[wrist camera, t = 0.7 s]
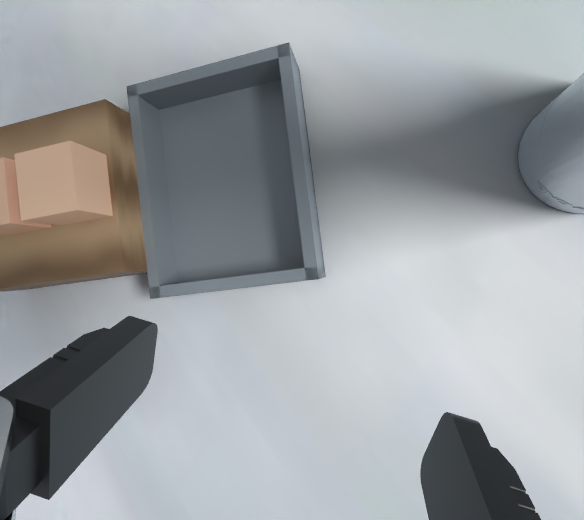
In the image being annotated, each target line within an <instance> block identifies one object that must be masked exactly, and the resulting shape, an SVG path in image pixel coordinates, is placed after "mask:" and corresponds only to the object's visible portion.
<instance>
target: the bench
mask: <svg viewBox="0 0 584 520" xmlns="http://www.w3.org/2000/svg"><path fill="white" fill-rule="evenodd" d="M66 141H73V142H75V143H78V144H80V145H83V146H85V147H88V148H90V149H93V150H95V151H98V152H100V153H103V154H105V155H106V157H107V167H108V176H109V185H110V194H111V204H112V213H113V216H111V217H105V218H100V219H94V220H88V221H83V222H77V223H72V224H66V225H54V224H51V228H46V229H40V230H35V231H29V232H24V233H18V234H13V235H7V236H0V291H11V290H23V289H32V288H39V287H47V286H54V285H61V284H69V283H76V282H84V281H91V280H98V279H106V278H113V277H121V276H128V275H135V274H143V273H147V263H146V254H145V245H144V236H143V227H142V218H141V209H140V200H139V191H138V182H137V173H136V164H135V155H134V146H133V137H132V128H131V119H130V114H129V113H127V112H126V111H124V110H122V109H121V108H119V107H117V106H116V105H114V104H112V103H111V102H109V101H107V100H106V99H105V100H101V101H97V102H93V103H89V104H86V105H82V106H78V107H74V108H71V109H67V110H63V111H59V112H56V113H52V114H48V115H44V116H41V117H37V118H33V119H29V120H26V121H22V122H18V123H14V124H11V125H7V126H3V127H0V158H2V157H5V158H8V159H12V160H15V156H14V154H17V153H21V152H25V151H29V150H33V149H37V148H41V147H46V146H50V145H54V144H58V143H62V142H66Z"/></svg>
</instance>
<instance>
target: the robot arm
mask: <svg viewBox="0 0 584 520" xmlns="http://www.w3.org/2000/svg"><path fill="white" fill-rule="evenodd" d="M518 161H519V169H520V172H521V175H522V178H523V180H524V182H525V183H526V185H527V187H528V188H529V189H530V191H531V192H532V193H533V194H534V195H535V196H536V197H537V198H538V199H540V200H541V201H543V202H544V203H546V204H547V205H549V206H551V207H554V208H556V209H559V210H561V211H566V212H571V213H584V73H583V74H582V75H581V76H580V77H579V78H578V79H577V80H576V81H575V82H573V83H572V84H571V85H570V86H569V87H568V88H566V89H565V90H564V91H563V92H562V93H561V94H560V95H558V96H557V97H556V98H555V99H554V100H553V101H552V102H551V103H550V104H549V105H547V106H546V107H545V108H544V109H543V110H542V111H541V112H540V113H539V114H538V115H537V116H536V117H535V118H534V119H533V120H532V121H531V123H530V124H529V125H528V127H527V128H526V130H525V132H524V134H523V137H522V139H521V141H520V146H519V152H518ZM156 339H157V325H156V324H155V323H152V322H148V321H145V320H142V319H138V318H135V317H132V316H128V317H126V318H125V319H123V320H122V321H120V322H119V323H118V324H116V325H115V326H114V327H112V328H111V329H107V328H102V329H99V330H96V331H93V332H90V333H87V334H84V335H82V336H81V337H79V338H78V339H77V340H75V341H74V342H72V343H71V344H69V345H68V346H67V348H63V349H62V350H60V351H59V352H57V353H56V354H54V356H53V358H49V359H47V360H46V361H44V362H43V363H41V364H40V365H38V366H37V367H35V368H34V369H32V370H31V371H29V372H28V373H27V374H25V375H24V376H22V377H21V378H19V379H18V380H16V381H15V382H13V383H12V384H10V385H9V386H7V387H6V388H4V389H3V390H2V391H0V520H15V517H16V508H17V506H18V505H19V504H20V503H21V502H22V501H23V500H24V499H25V498H26V497H27V496H28V495H29V494H30V493H31V494H34V495H37V496H39V497H42V498H45V499H48V500H49V499H50V498H51V497H52V496H53V495H54V494H55V492H56V491H57V490H58V489H59V488H60V487H61V486H62V484H63V483H64V482H65V481H66V480H67V479H68V478H69V476H70V475H71V474H72V473H73V472H74V471H75V469H76V468H77V467H78V466H79V465H80V464H81V463H82V461H83V460H84V459H85V458H86V457H87V456H88V455H89V453H90V452H91V451H92V450H93V449H94V448H95V447H96V445H97V444H98V443H99V442H100V441H101V440H102V438H103V437H104V436H105V435H106V434H107V433H108V432H109V430H110V429H111V428H112V427H113V426H114V425H115V424H116V422H117V421H118V420H119V419H120V418H121V417H122V415H123V414H124V413H125V412H126V411H127V410H128V409H129V407H130V406H131V405H132V404H133V403H134V402H135V401H136V399H137V398H138V397H139V396H140V395H141V394H142V392H143V391H144V390H145V388H146V386H147V384H148V382H149V380H150V377H151V374H152V370H153V363H154V355H155V347H156ZM421 484H422V489H423V494H424V499H425V503H426V508H427V513H428V518H429V520H541V519H540V517H539V515H538V513H535V507H534V505H533V503H532V501H531V499H530V497H529V495H528V494H526V493H525V491H526V490H525V488H524V486H523V484H522V482H521V480H520V478H519V476H518V474H517V472H516V470H515V469H514V467H513V466H512V465H511V464H510V463H509V462H508V461H507V459H506V458H505V457H504V456H503V455H502V454H501V452H500V451H499V450H498V449H497V448H493V447H491V446H490V444H489V441H488V439H487V437H486V435H485V433H484V431H483V429H482V427H481V425H480V423H479V422H477V421H475V420H472V419H468V418H465V417H462V416H458V415H455V414H452V413H448V412H446V413H444V414H443V416H442V417H441V419H440V421H439V423H438V426H437V428H436V430H435V432H434V434H433V436H432V439H431V441H430V443H429V445H428V447H427V449H426V452H425V454H424V456H423V459H422V464H421Z"/></svg>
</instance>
